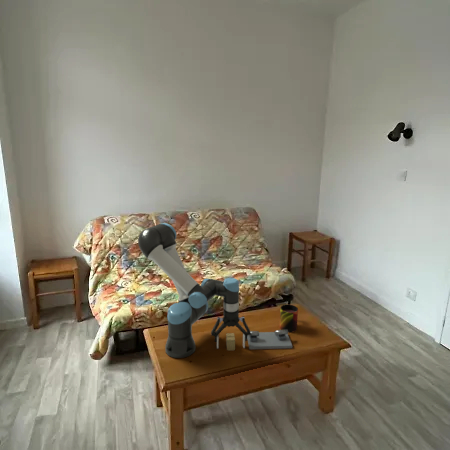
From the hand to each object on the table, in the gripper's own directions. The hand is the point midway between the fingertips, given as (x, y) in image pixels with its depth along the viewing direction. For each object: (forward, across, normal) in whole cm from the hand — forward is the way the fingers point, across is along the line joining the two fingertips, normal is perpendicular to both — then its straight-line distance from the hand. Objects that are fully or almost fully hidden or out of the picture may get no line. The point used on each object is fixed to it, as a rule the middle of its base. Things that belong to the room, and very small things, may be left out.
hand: (230, 346), depth 177 cm
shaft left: (-1, +12, +4) cm, 13 cm away
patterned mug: (0, +33, +19) cm, 39 cm away
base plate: (0, +20, +4) cm, 21 cm away
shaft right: (-1, +27, +5) cm, 28 cm away
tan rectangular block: (0, 0, 0) cm, 0 cm away
